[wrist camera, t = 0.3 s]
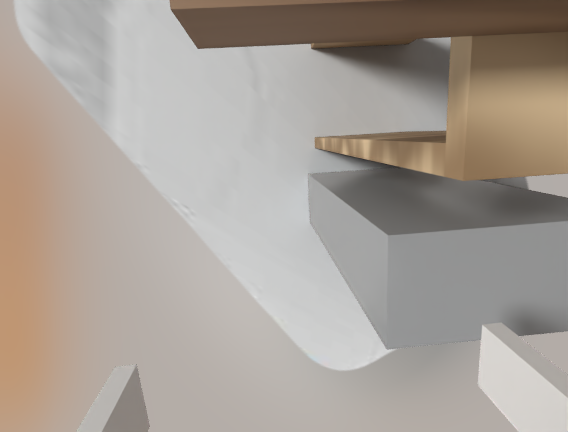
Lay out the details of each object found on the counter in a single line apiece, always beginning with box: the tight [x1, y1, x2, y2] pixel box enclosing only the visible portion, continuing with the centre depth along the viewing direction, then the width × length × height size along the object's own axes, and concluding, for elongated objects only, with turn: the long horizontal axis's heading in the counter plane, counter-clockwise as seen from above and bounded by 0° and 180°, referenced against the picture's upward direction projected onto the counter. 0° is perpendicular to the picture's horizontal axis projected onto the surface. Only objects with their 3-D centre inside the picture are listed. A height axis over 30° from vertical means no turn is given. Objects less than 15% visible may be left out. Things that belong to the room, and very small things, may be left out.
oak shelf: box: [311, 32, 568, 181], centre depth 25 cm, size 12×11×30 cm
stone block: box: [308, 167, 568, 349], centre depth 30 cm, size 6×13×26 cm, turn 93°
